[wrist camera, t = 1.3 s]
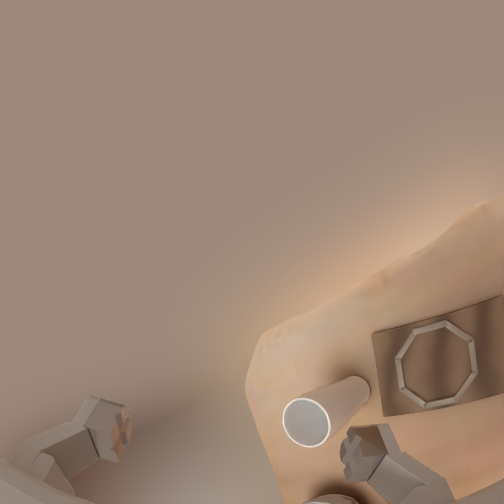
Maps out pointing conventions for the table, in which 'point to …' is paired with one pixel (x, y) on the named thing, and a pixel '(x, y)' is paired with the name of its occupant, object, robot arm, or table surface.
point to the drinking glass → (324, 411)
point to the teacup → (332, 499)
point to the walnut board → (442, 360)
